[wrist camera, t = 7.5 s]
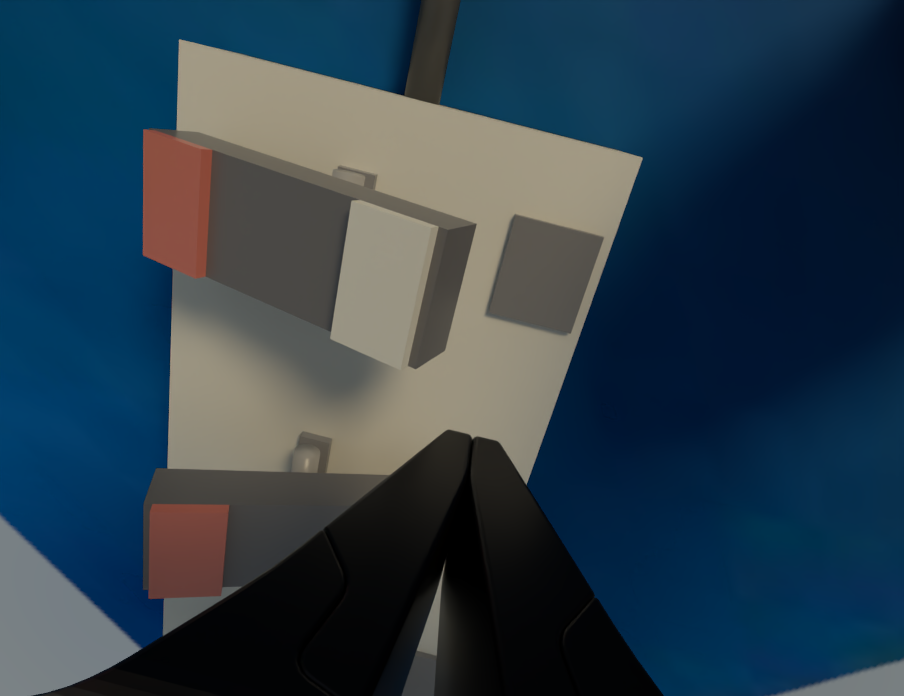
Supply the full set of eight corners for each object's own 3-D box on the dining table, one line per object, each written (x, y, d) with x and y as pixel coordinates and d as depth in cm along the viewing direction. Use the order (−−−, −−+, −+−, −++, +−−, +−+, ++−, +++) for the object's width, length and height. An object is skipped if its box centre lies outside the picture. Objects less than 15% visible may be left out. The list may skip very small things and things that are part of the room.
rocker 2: (428, 449, 19) (449, 514, 16) (410, 517, 20) (427, 588, 17) (166, 438, 16) (140, 512, 13) (164, 516, 17) (140, 599, 15)
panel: (699, -81, 14) (749, -134, 11) (444, 673, 26) (435, 746, 23) (250, -194, 14) (179, -280, 11) (199, 610, 26) (157, 675, 23)
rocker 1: (500, 218, 13) (441, 231, 10) (469, 335, 14) (409, 373, 11) (240, 135, 15) (137, 127, 13) (232, 239, 16) (137, 252, 14)
